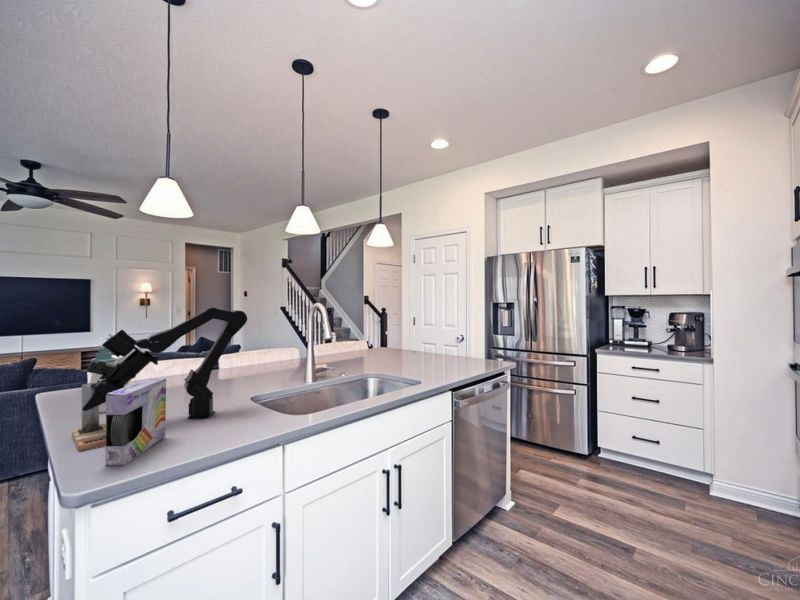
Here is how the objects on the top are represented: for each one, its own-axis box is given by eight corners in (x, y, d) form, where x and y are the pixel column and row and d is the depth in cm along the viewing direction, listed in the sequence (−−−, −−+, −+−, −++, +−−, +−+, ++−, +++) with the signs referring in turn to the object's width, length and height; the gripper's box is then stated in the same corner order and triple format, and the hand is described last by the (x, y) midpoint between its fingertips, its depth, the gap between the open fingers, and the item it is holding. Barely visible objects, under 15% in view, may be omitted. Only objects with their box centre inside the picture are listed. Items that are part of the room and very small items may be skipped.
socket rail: (114, 443, 100) (114, 438, 101) (78, 451, 95) (78, 446, 95) (104, 428, 113) (104, 423, 113) (72, 434, 108) (72, 429, 108)
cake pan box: (122, 467, 86) (122, 393, 86) (99, 468, 85) (99, 393, 86) (167, 437, 105) (167, 376, 105) (149, 438, 105) (149, 376, 105)
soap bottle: (80, 412, 130) (79, 348, 130) (110, 405, 139) (110, 345, 139) (96, 415, 126) (96, 350, 126) (126, 407, 135) (126, 346, 135)
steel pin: (102, 432, 110) (102, 382, 110) (93, 437, 106) (93, 385, 106) (88, 432, 109) (88, 382, 109) (78, 437, 105) (78, 386, 105)
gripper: (109, 347, 117) (63, 386, 111) (105, 353, 102) (51, 398, 96) (139, 368, 122) (96, 407, 116) (139, 377, 107) (90, 422, 100)
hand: (84, 408), depth 107 cm, fingers closed on steel pin, 4 cm apart
